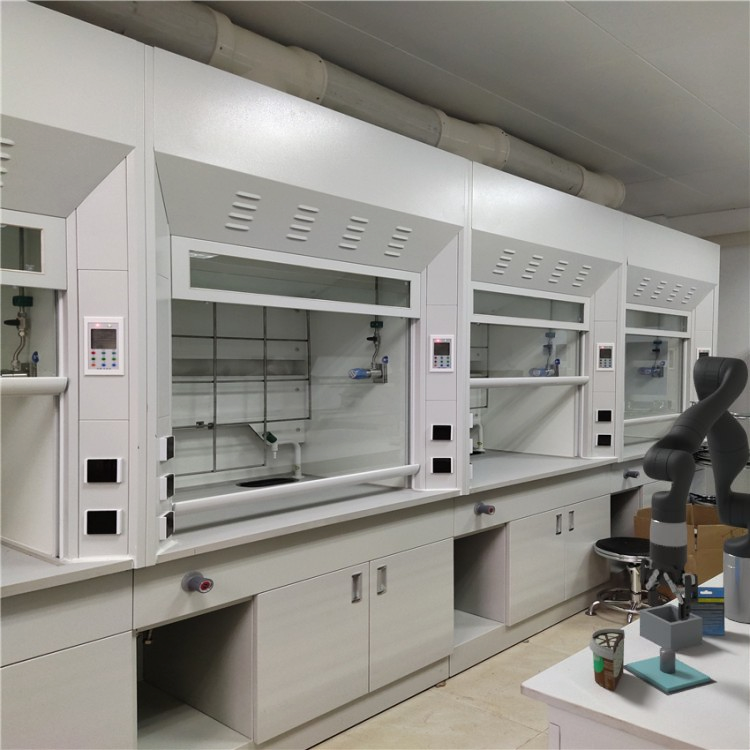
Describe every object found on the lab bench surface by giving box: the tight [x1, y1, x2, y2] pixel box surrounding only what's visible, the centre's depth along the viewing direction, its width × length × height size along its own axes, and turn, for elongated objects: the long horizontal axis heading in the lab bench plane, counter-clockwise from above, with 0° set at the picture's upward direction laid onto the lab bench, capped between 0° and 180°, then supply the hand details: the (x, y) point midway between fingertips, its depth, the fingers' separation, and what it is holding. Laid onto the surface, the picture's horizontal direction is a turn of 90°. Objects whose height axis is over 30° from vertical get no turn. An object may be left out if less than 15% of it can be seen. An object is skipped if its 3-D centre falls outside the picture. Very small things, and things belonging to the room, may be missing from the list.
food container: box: [588, 628, 626, 692], centre depth 150 cm, size 12×6×10 cm, turn 149°
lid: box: [626, 647, 711, 692], centre depth 152 cm, size 12×12×5 cm
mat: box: [623, 664, 718, 696], centre depth 152 cm, size 14×14×1 cm
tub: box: [639, 603, 703, 652], centre depth 169 cm, size 10×10×7 cm
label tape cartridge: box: [690, 586, 726, 636], centre depth 175 cm, size 9×4×12 cm, turn 84°
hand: (667, 612), depth 151 cm, fingers open, 8 cm apart
